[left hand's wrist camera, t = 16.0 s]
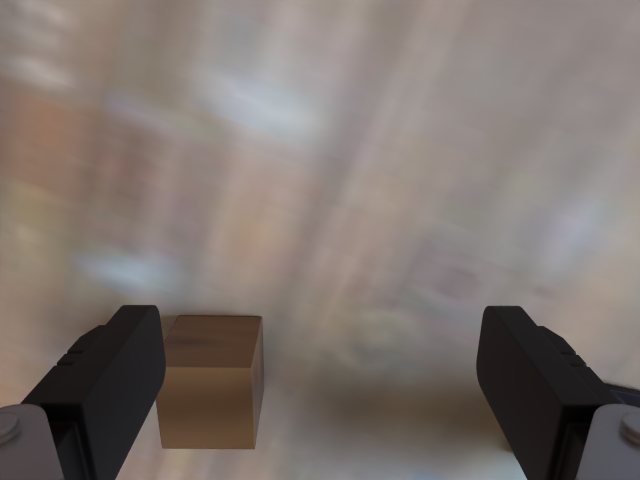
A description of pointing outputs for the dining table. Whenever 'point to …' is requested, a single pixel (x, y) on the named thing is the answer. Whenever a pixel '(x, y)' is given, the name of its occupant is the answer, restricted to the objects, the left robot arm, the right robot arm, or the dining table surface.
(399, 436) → the dining table surface
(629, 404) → the right robot arm
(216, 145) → the dining table surface
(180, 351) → the brick
